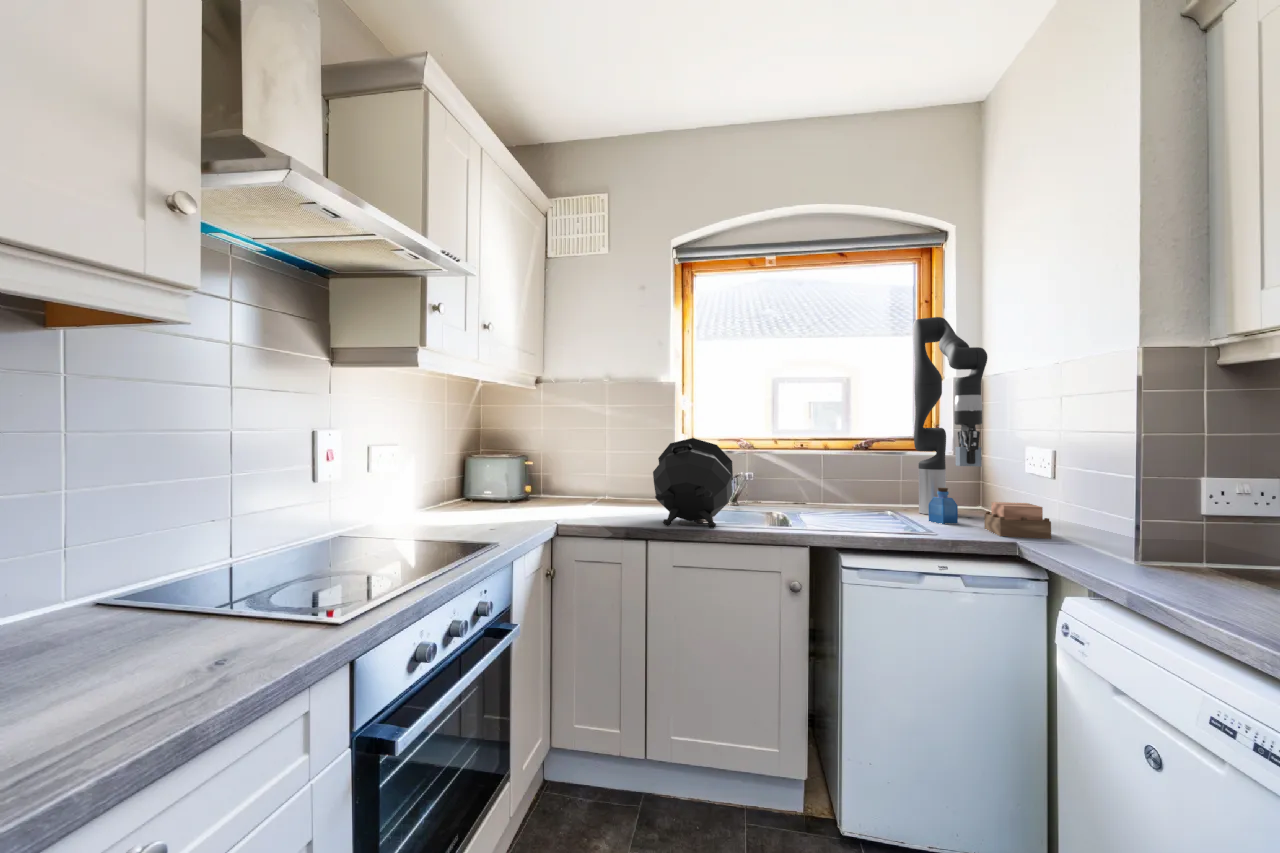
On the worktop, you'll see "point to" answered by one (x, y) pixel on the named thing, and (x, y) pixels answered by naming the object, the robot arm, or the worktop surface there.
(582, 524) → the worktop surface
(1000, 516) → the brown studded stepped block
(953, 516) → the perfume bottle
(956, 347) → the robot arm
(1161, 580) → the worktop surface
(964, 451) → the grey brick
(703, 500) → the cauldron
